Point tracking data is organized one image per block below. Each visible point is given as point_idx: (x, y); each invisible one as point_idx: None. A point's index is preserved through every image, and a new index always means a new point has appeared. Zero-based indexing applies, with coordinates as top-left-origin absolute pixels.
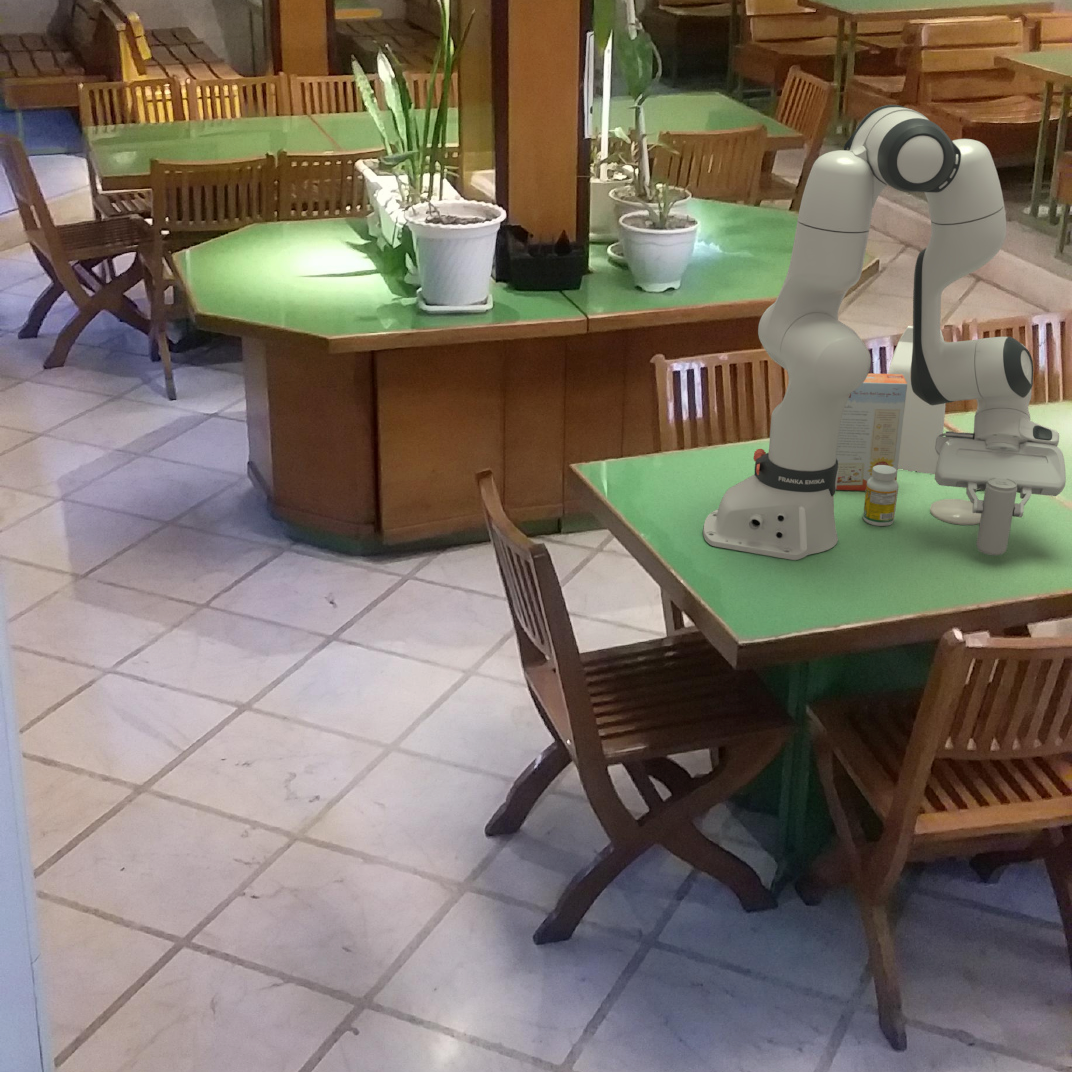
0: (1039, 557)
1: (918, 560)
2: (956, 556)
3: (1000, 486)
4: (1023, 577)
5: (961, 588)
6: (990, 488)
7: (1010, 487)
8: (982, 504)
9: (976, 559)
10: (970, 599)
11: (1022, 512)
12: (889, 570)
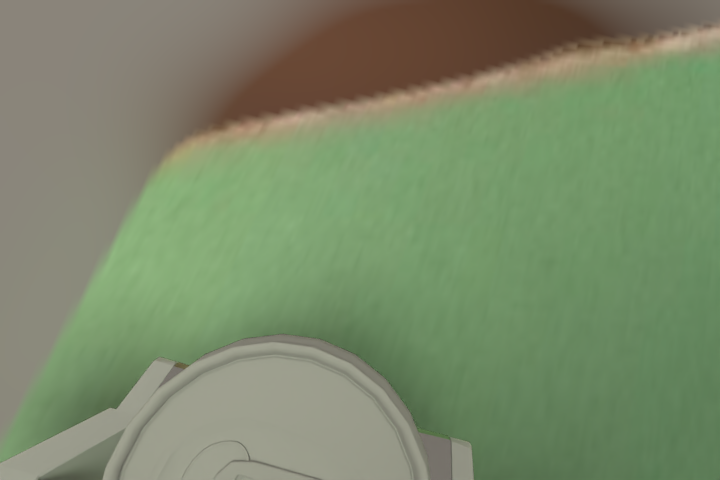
0: None
1: (586, 408)
2: None
3: (324, 409)
4: (253, 252)
5: (486, 188)
6: (416, 433)
7: (220, 384)
8: None
9: None
10: (478, 120)
11: (161, 359)
12: (699, 330)
